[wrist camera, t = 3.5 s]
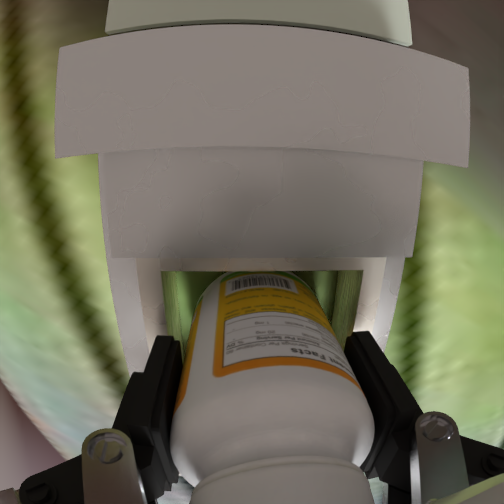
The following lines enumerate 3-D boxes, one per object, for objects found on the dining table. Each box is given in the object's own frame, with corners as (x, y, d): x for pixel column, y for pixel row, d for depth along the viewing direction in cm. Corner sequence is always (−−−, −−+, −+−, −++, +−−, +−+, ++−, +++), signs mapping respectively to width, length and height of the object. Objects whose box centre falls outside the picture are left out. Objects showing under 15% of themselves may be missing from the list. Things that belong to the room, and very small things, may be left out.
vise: (405, 86, 11) (474, 70, 6) (335, 467, 18) (349, 518, 14) (109, 76, 10) (50, 50, 6) (167, 472, 17) (159, 526, 13)
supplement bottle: (251, 385, 15) (266, 576, 6) (168, 315, 13) (103, 531, 4) (342, 321, 14) (438, 511, 5) (265, 233, 12) (333, 460, 3)
